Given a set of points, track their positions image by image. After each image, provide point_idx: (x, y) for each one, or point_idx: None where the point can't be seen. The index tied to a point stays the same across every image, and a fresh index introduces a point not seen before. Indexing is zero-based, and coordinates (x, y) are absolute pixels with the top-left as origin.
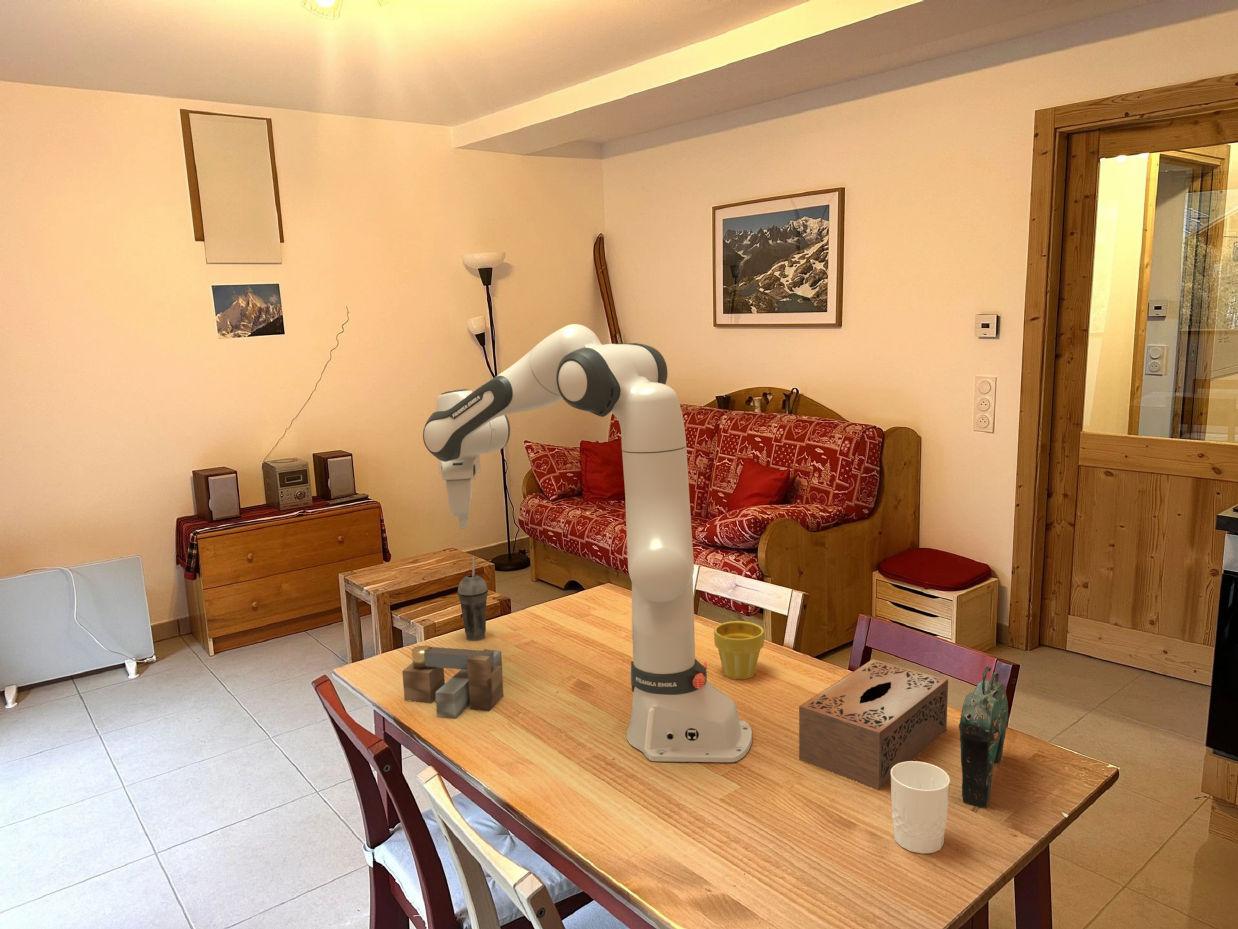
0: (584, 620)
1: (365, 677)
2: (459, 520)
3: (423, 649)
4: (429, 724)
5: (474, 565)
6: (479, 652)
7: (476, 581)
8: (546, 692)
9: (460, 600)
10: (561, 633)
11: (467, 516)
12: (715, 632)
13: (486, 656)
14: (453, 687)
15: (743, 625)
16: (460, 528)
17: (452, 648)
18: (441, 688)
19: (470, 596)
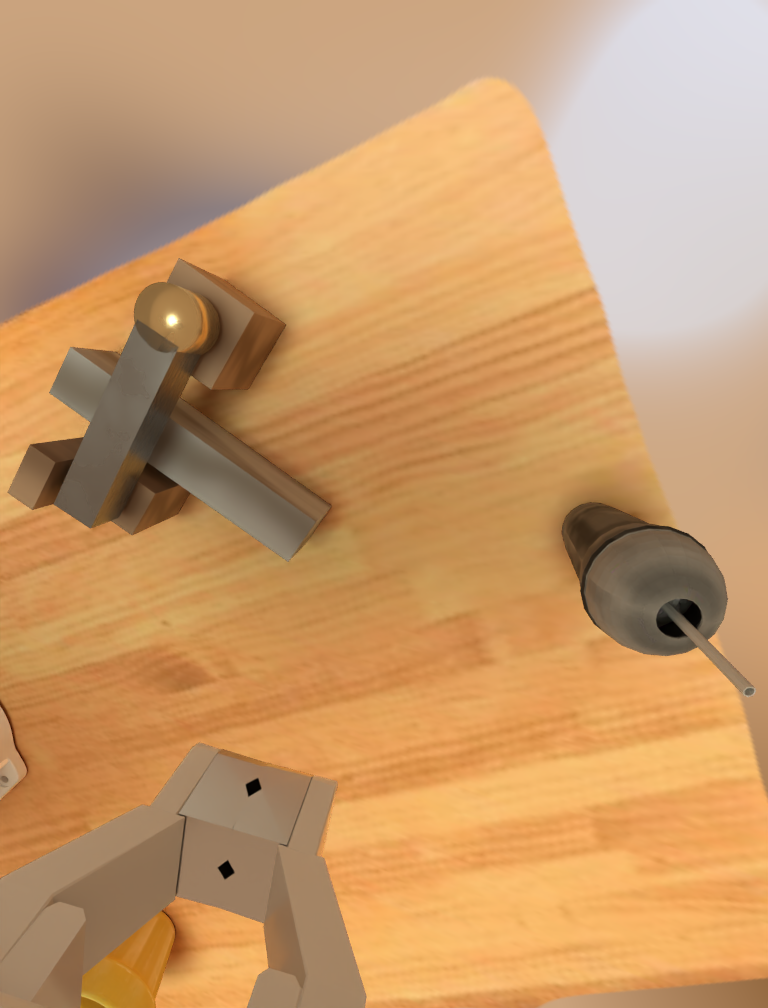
0: (568, 817)
1: (422, 165)
2: (134, 817)
3: (160, 324)
4: (84, 329)
5: (713, 662)
6: (91, 489)
7: (624, 621)
8: (169, 602)
9: (628, 526)
10: (502, 738)
11: (268, 947)
12: (87, 995)
13: (34, 500)
14: (87, 397)
15: None
16: (200, 745)
17: (142, 417)
18: (88, 365)
19: (587, 566)
